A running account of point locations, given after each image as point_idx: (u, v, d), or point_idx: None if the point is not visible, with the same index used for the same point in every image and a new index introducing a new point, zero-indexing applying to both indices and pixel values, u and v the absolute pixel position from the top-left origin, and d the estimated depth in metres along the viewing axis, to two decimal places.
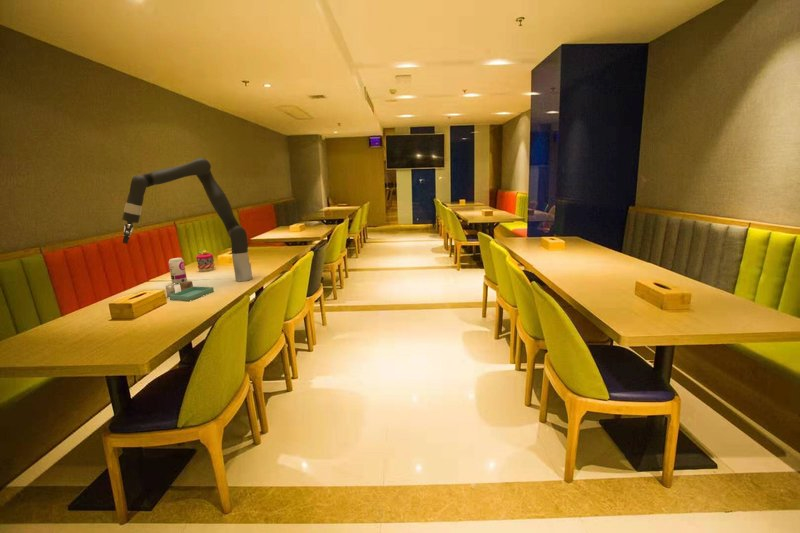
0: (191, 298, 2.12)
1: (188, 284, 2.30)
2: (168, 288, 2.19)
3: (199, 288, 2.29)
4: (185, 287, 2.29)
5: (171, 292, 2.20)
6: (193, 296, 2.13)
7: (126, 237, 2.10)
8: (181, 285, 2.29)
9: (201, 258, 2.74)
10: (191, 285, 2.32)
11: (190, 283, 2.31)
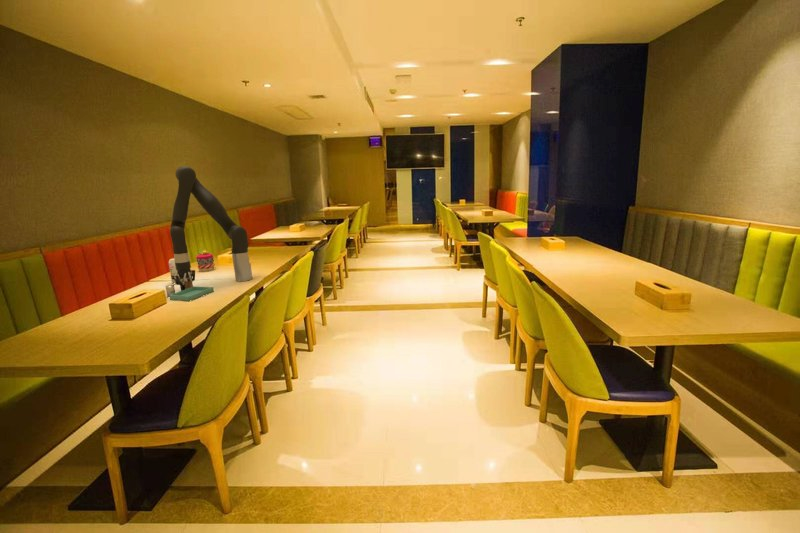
0: (191, 298, 2.12)
1: (188, 284, 2.30)
2: (168, 288, 2.19)
3: (199, 288, 2.29)
4: (185, 287, 2.29)
5: (171, 292, 2.20)
6: (193, 296, 2.13)
7: (181, 286, 2.28)
8: None
9: (201, 258, 2.74)
10: (191, 285, 2.32)
11: (190, 283, 2.31)
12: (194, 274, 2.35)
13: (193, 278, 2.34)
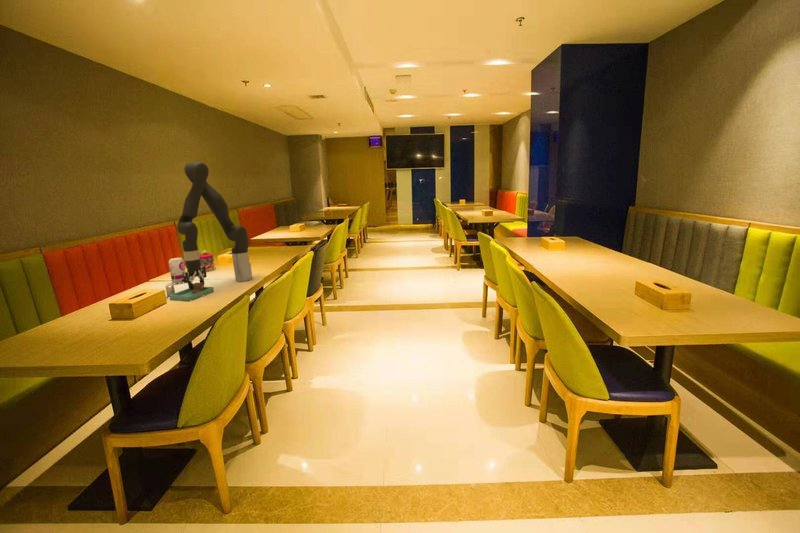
0: (191, 298, 2.12)
1: (199, 286, 2.22)
2: (168, 288, 2.19)
3: None
4: (196, 289, 2.22)
5: (171, 292, 2.20)
6: (193, 296, 2.13)
7: (189, 284, 2.19)
8: None
9: (201, 258, 2.74)
10: (202, 287, 2.24)
11: (201, 285, 2.24)
12: (205, 271, 2.27)
13: (205, 275, 2.28)
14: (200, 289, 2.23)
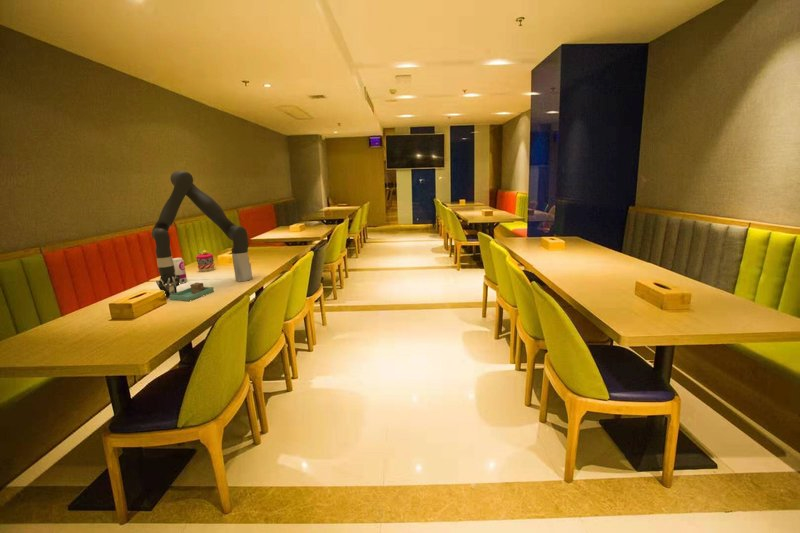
0: (191, 298, 2.12)
1: (199, 286, 2.22)
2: None
3: None
4: (196, 289, 2.22)
5: (171, 292, 2.20)
6: (193, 296, 2.13)
7: (165, 291, 2.18)
8: (192, 287, 2.22)
9: (201, 258, 2.74)
10: (202, 287, 2.24)
11: (201, 285, 2.24)
12: (179, 279, 2.25)
13: (177, 283, 2.24)
14: (200, 289, 2.23)
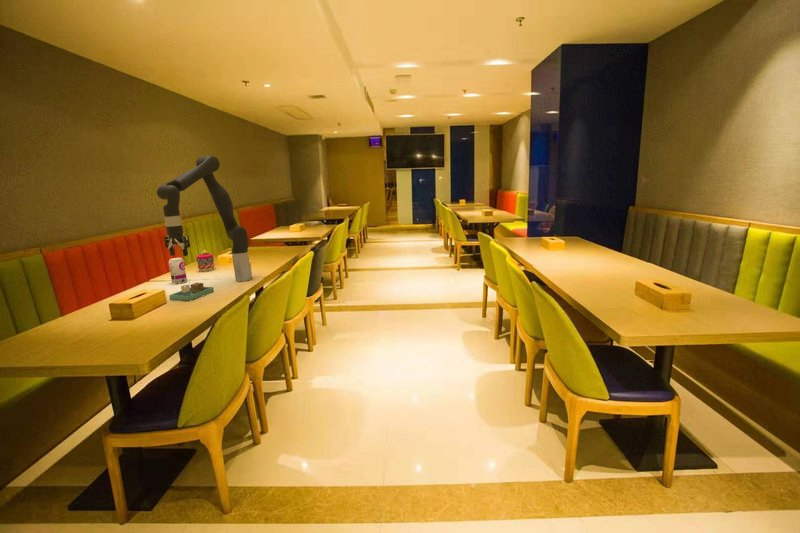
0: (191, 298, 2.12)
1: (199, 286, 2.22)
2: (189, 287, 2.16)
3: None
4: (196, 289, 2.22)
5: None
6: (193, 296, 2.13)
7: (186, 249, 2.10)
8: (192, 287, 2.22)
9: (201, 258, 2.74)
10: (202, 287, 2.24)
11: (201, 285, 2.24)
12: None
13: None
14: (200, 289, 2.23)
